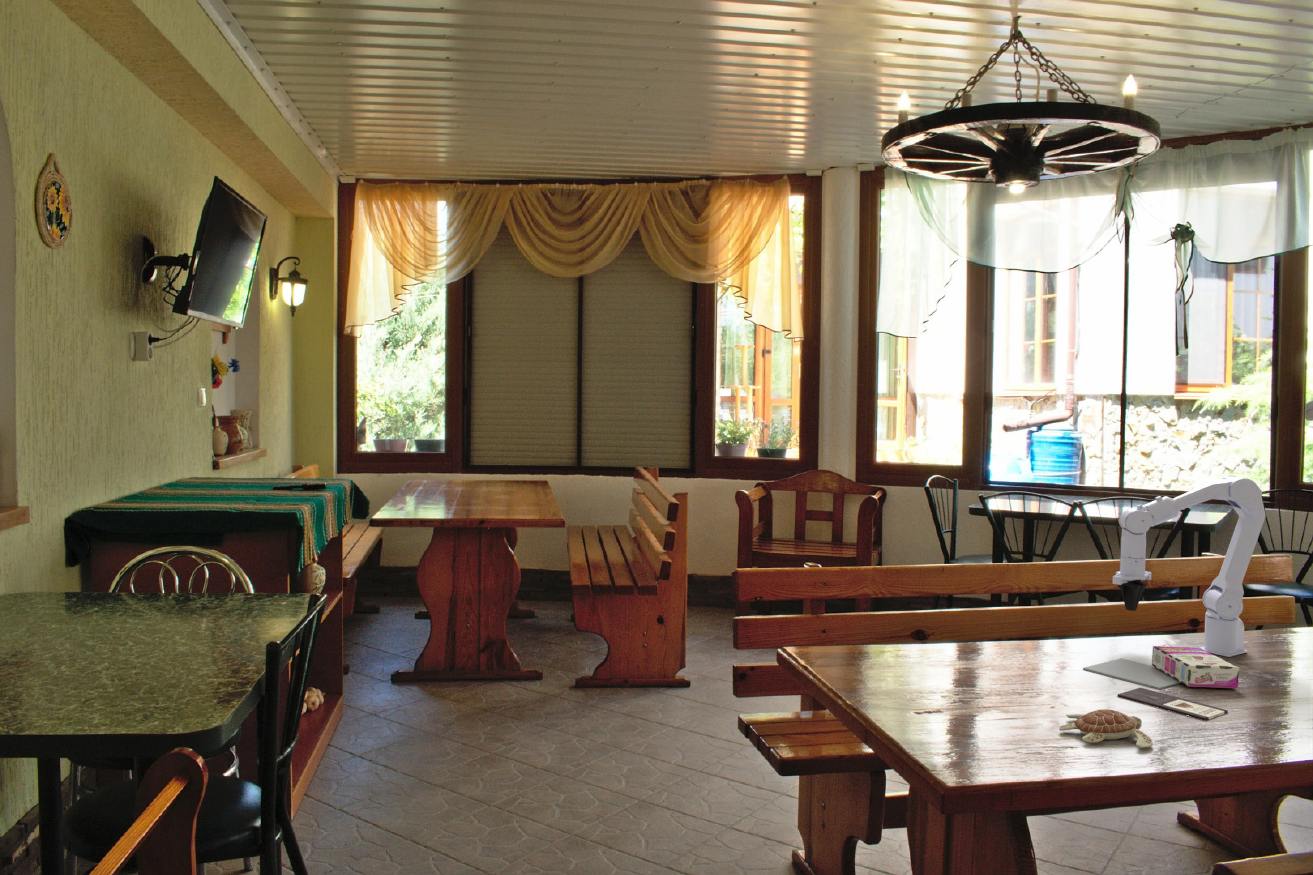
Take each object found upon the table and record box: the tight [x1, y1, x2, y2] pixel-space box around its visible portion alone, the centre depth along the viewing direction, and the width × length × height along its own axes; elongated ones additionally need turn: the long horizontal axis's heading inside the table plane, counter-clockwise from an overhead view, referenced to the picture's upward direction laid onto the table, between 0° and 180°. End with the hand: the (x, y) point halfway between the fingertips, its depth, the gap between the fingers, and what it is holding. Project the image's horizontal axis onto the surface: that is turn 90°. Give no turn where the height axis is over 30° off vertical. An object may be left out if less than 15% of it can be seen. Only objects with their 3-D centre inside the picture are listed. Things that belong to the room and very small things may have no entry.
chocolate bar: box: [1116, 687, 1229, 721], centre depth 201 cm, size 9×1×18 cm
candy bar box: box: [1151, 645, 1240, 689], centre depth 220 cm, size 11×5×16 cm
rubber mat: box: [1082, 657, 1182, 690], centre depth 223 cm, size 16×18×1 cm
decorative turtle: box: [1058, 708, 1154, 749], centre depth 182 cm, size 18×17×5 cm
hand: (1130, 609), depth 248 cm, fingers closed
